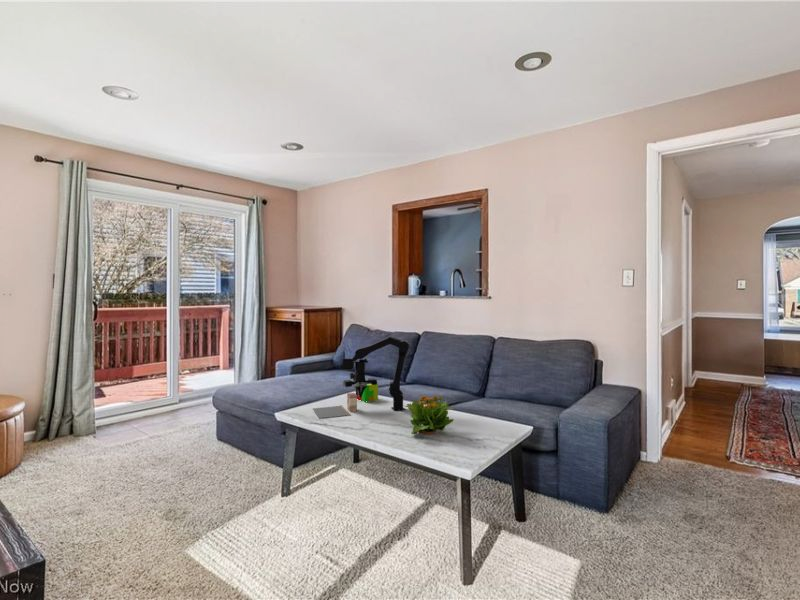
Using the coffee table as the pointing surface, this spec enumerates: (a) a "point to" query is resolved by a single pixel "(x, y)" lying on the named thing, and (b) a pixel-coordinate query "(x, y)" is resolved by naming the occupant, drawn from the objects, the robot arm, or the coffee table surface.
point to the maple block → (351, 401)
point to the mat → (331, 412)
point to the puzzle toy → (369, 393)
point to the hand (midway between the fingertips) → (360, 397)
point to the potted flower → (429, 415)
